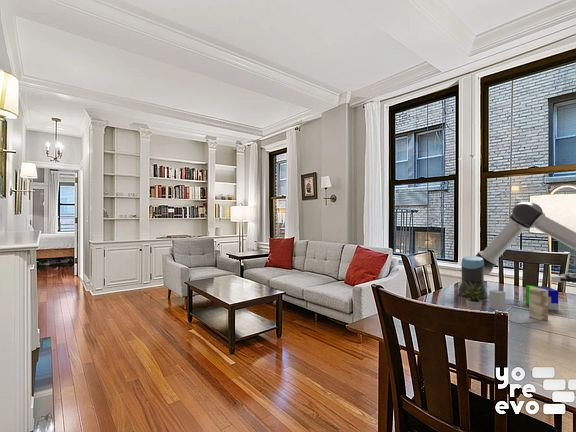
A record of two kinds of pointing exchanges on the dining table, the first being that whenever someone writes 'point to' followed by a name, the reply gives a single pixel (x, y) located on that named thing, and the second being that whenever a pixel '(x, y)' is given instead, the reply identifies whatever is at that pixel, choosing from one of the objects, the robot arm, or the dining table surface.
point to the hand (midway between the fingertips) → (552, 279)
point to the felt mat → (521, 319)
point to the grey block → (497, 300)
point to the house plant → (473, 297)
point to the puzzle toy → (551, 296)
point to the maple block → (538, 303)
